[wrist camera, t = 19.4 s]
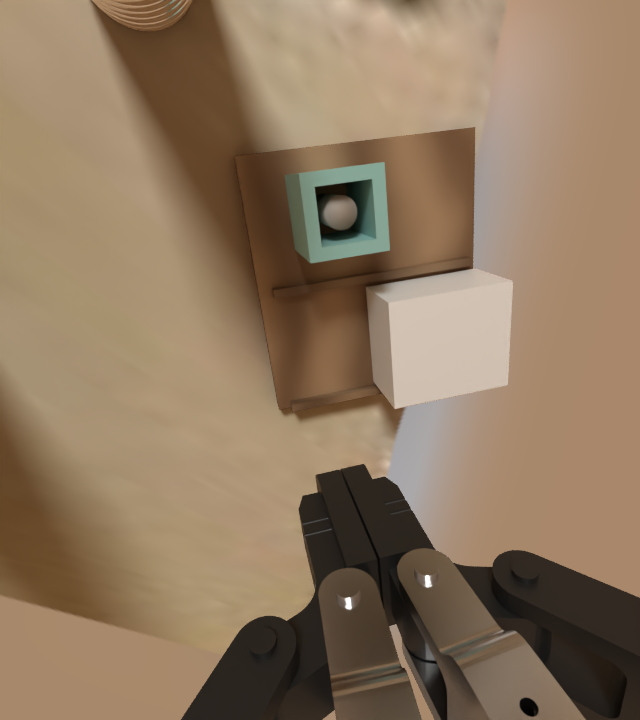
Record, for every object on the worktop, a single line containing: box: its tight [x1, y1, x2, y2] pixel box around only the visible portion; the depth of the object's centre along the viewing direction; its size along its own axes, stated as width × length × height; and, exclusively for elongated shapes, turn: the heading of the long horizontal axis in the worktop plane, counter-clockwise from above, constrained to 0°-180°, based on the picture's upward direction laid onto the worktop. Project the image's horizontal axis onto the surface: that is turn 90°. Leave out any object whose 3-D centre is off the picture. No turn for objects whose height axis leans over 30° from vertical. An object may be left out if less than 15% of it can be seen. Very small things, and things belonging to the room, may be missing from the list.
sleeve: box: [284, 162, 390, 263], centre depth 29 cm, size 5×5×6 cm
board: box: [235, 127, 475, 412], centre depth 32 cm, size 17×19×6 cm
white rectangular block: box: [366, 268, 513, 409], centre depth 34 cm, size 9×8×5 cm
